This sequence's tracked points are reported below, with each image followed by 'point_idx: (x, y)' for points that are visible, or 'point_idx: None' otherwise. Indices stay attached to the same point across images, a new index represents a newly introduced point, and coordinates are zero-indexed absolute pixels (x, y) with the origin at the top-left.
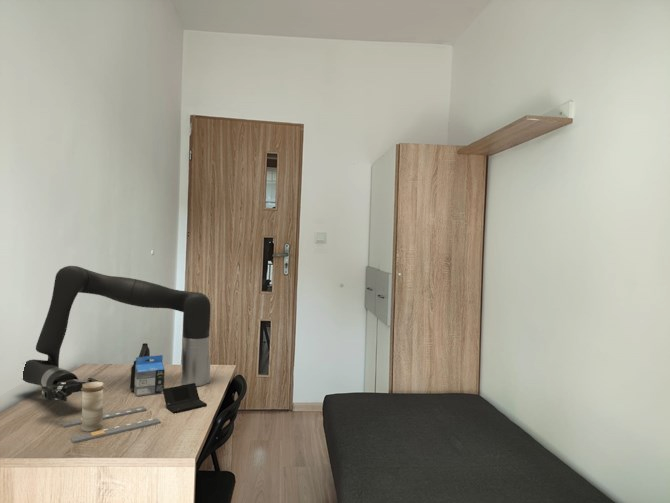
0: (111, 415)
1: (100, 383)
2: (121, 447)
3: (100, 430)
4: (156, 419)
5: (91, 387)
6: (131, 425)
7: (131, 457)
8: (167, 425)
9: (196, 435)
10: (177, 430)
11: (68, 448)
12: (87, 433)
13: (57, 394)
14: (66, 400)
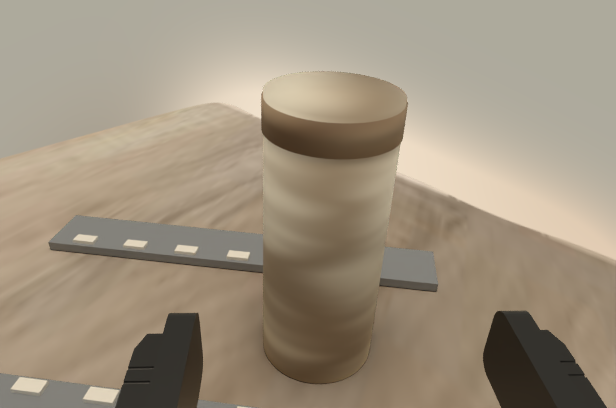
0: None
1: (285, 84)
2: None
3: None
4: (64, 233)
5: (362, 76)
6: (181, 243)
7: None
8: (83, 201)
9: (107, 135)
10: (104, 168)
11: (452, 238)
12: None
13: (599, 403)
14: (484, 355)
